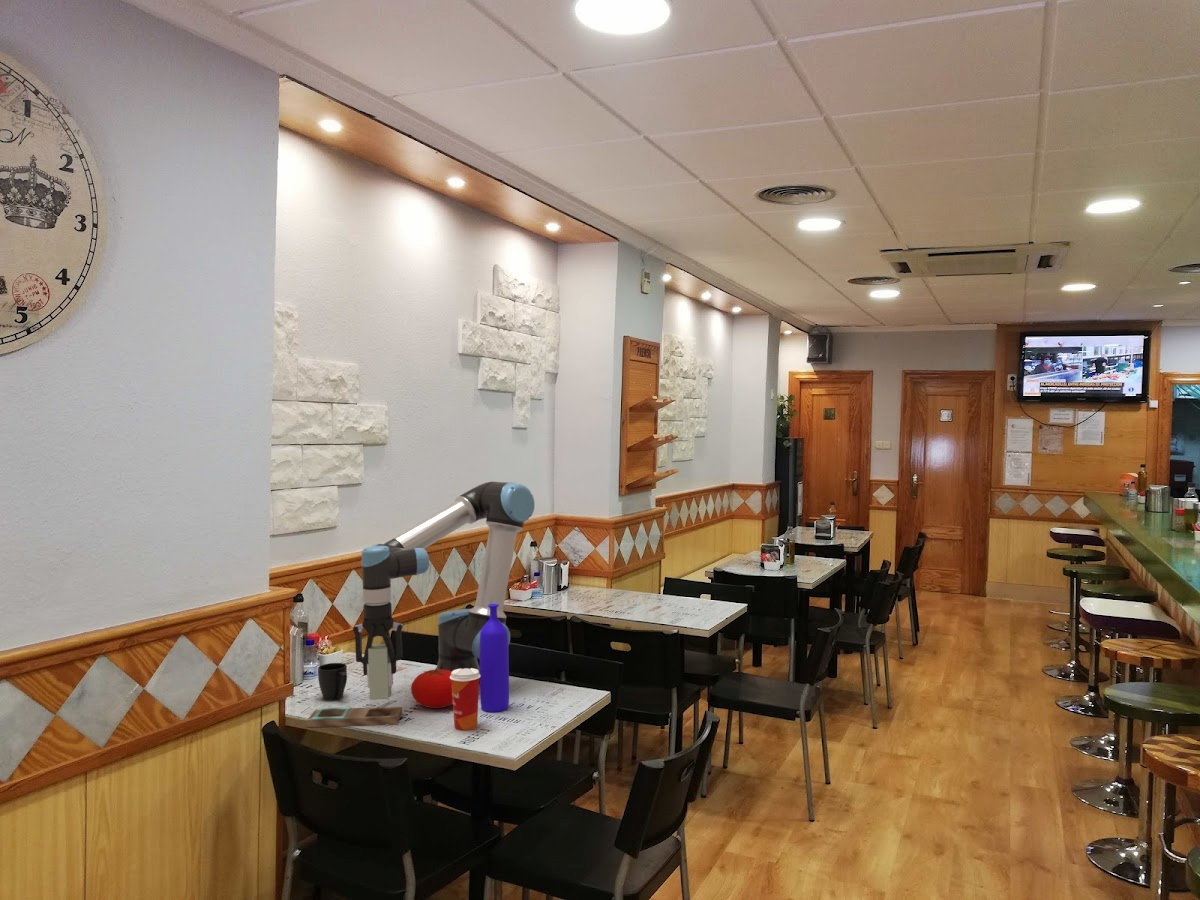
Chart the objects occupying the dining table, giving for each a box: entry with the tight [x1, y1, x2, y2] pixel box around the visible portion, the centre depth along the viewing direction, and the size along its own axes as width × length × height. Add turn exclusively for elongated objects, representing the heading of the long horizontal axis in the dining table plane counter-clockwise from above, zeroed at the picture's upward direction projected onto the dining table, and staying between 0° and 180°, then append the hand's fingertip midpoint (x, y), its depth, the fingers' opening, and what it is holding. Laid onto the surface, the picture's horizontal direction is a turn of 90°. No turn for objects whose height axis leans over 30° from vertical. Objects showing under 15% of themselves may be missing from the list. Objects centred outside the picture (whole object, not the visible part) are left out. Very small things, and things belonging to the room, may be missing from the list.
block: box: [368, 643, 393, 701], centre depth 246 cm, size 5×5×14 cm
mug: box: [317, 662, 348, 702], centre depth 265 cm, size 8×12×10 cm
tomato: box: [410, 667, 453, 709], centre depth 258 cm, size 14×13×10 cm
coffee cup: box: [450, 668, 480, 731], centre depth 239 cm, size 8×8×15 cm
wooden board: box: [306, 706, 403, 728], centre depth 245 cm, size 24×9×2 cm, turn 94°
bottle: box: [479, 604, 510, 713], centre depth 254 cm, size 8×8×30 cm
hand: (380, 685), depth 246 cm, fingers closed on block, 5 cm apart
